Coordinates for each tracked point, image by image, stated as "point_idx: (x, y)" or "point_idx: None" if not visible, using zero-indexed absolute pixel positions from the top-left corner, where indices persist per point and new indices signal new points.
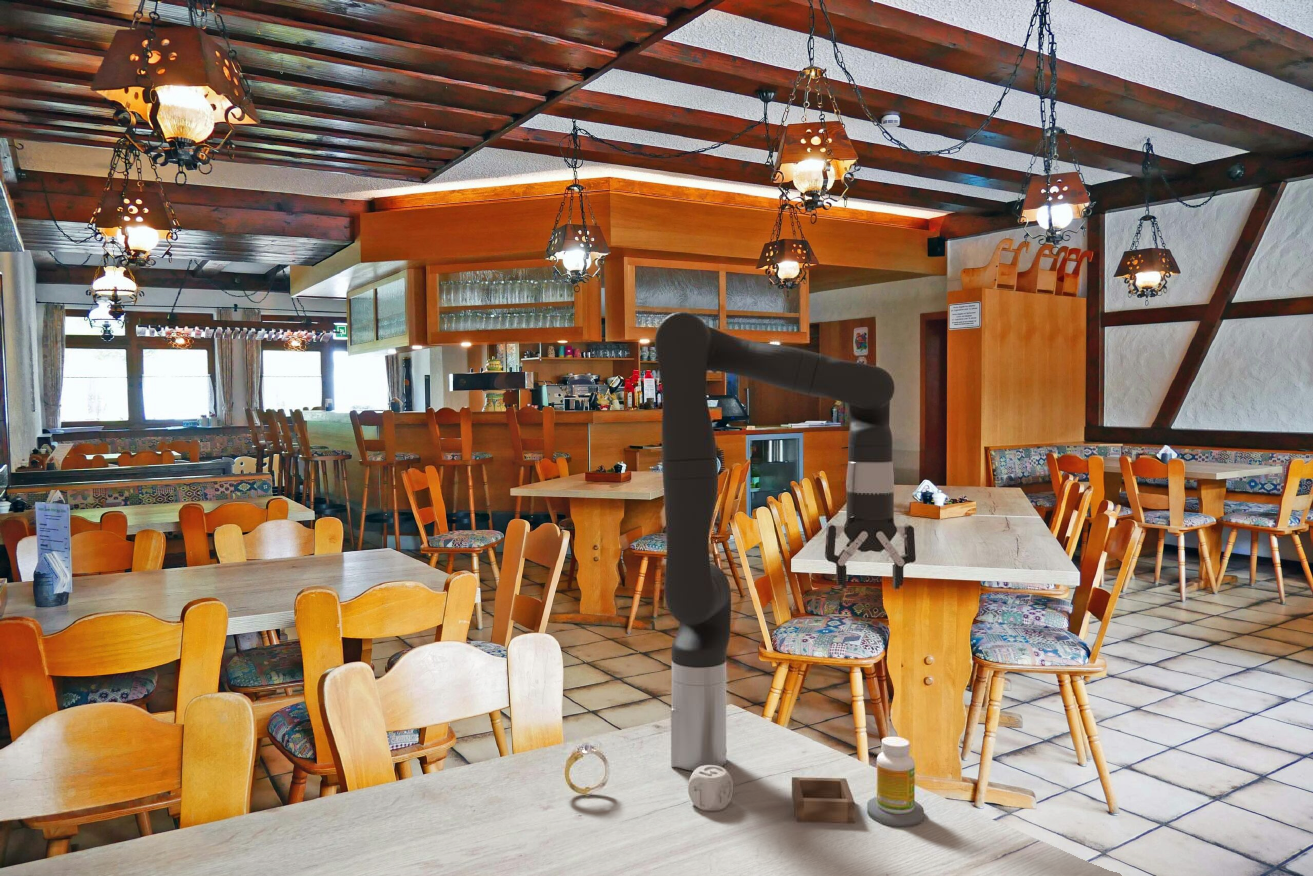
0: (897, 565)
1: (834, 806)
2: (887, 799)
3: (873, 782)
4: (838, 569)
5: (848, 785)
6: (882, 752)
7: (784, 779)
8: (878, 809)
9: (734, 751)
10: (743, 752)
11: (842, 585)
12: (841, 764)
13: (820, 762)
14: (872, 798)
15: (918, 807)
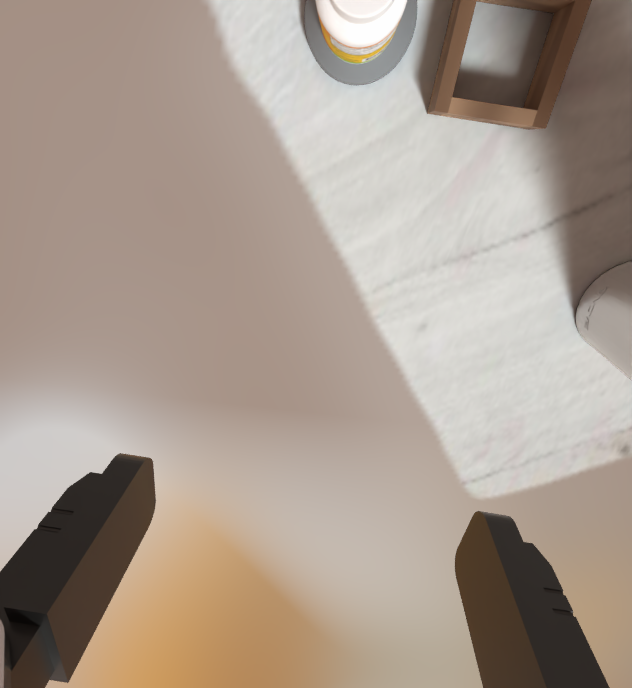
0: (16, 635)
1: None
2: None
3: (348, 183)
4: (593, 677)
5: (444, 68)
6: (388, 12)
7: (507, 213)
8: None
9: (543, 341)
10: (529, 335)
11: (514, 527)
12: (377, 268)
13: (411, 280)
14: (390, 69)
15: (313, 12)
